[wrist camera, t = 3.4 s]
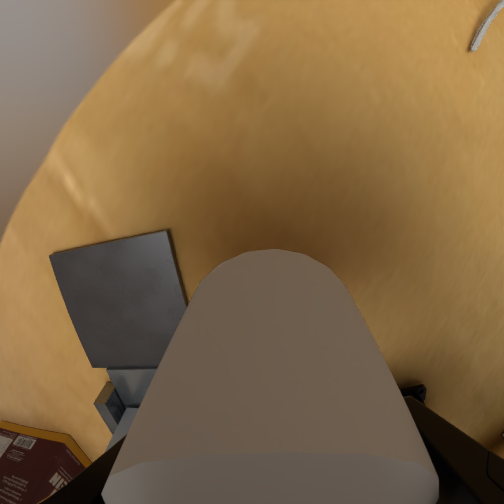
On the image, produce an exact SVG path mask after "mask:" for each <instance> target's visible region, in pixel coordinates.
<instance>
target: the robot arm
mask: <svg viewBox="0 0 504 504" xmlns="http://www.w3.org/2000/svg"><path fill="white" fill-rule="evenodd" d="M400 392H401V394H402V396H403V398H404V401H405V403H406V405H407V407H408V409H409V411H410V413H411V416H412V418H413V420H414V422H415V424H416V427H417V429H418V431H419V433H420V436H421V438H422V440H423V443H424V445H425V447H426V449H427V452H428V454H429V456H430V459H431V461H432V464H433V466H434V468H435V471H436V473H437V476H438V478H439V498H438V500H437V502H436V504H504V459H503V458H501V457H500V456H498V455H496V454H495V453H493V452H492V451H489V450H488V449H487V448H486V447H484V446H483V445H481V444H480V443H478V442H477V441H475V440H474V439H473V438H471V437H470V436H468V435H467V434H465V433H464V432H462V431H461V430H459V429H458V428H456V427H455V426H454V425H452V424H451V423H449V422H448V421H446V420H445V419H443V418H442V417H441V416H439V415H438V414H436V413H435V412H433V411H432V410H430V409H429V408H428V407H426V406H425V404H424V399H425V394H426V387H425V386H424V385H423V384H421V385H417V386H414V387H410V388H406V389H403V390H400ZM127 434H128V433H127ZM127 434H126V435H125V436H124V437H123V438H122V439H120V440H119V441H118V442H117V443H116V444H115V445H113V446H112V447H111V448H110V449H109V450H107V451H106V452H105V453H104V454H103V455H101V456H100V457H99V458H98V459H97V460H95V461H94V462H93V463H92V464H90V465H89V466H88V467H87V468H86V469H84V470H83V471H82V472H81V473H79V474H78V475H77V476H76V477H74V478H73V479H72V480H71V481H69V482H68V483H67V485H64V486H63V487H62V488H60V489H59V490H58V491H56V492H55V493H54V494H52V495H51V496H50V497H48V498H47V499H45V500H44V501H42V502H40V503H39V504H105V502H104V500H103V497H102V495H101V493H102V491H103V489H104V486H105V484H106V481H107V479H108V477H109V474H110V472H111V470H112V468H113V465H114V463H115V461H116V458H117V456H118V454H119V452H120V449H121V447H122V445H123V442H124V440H125V438H126V436H127Z"/></svg>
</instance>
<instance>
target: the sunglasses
mask: <svg viewBox="0 0 504 504" xmlns="http://www.w3.org/2000/svg"><path fill="white" fill-rule="evenodd" d="M503 7H504V0H501V1H500V2H498V3H497V4H496V6H495V7H494V8H493V10H492V11H491V12H490V14H489V15H488V16H487V17H486V19H485V20H484V22H483V23H482V25H481V26H480V28H479V29H478V31H477V33H476V35H475V37H474V39H473V41H472V44H471V51H472V52H474V51H475V50H477V48H478V46H479V44H480V42H481V40H482V39H483V37H484V35H485V33H486V31H487V29H488V27H489V25H490V23H491V22H492V21H493V19H494V18H495V17H496V15H497V14H498V12H499V11H500V10H501V9H502V8H503Z"/></svg>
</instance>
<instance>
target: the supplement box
mask: <svg viewBox="0 0 504 504" xmlns="http://www.w3.org/2000/svg"><path fill="white" fill-rule="evenodd" d="M90 464H92V463H91V461H90V460H89V459H88V458H87V457H86V455H85V454H84V453H83V452H82V450H81V449H80V448H79V447H78V445H77V444H76V443H75V441H74V440H73V439H72V437H71V436H70V435H68V434H62V433H56V432H50V431H45V430H40V429H35V428H31V427H26V426H22V425H18V424H13V423H9V422H6V421H1V422H0V504H39V503H40V502H42V501H44V500H45V499H47V498H48V497H50V496H51V495H52V494H54V493H55V492H56V491H58V490H59V489H60V488H62V487H63V486H64V485H67V483H68V482H69V481H71V480H72V479H73V478H74V477H76V476H77V475H78V474H79V473H81V472H82V471H83V470H84V469H86V468H87V467H88V466H89V465H90Z"/></svg>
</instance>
